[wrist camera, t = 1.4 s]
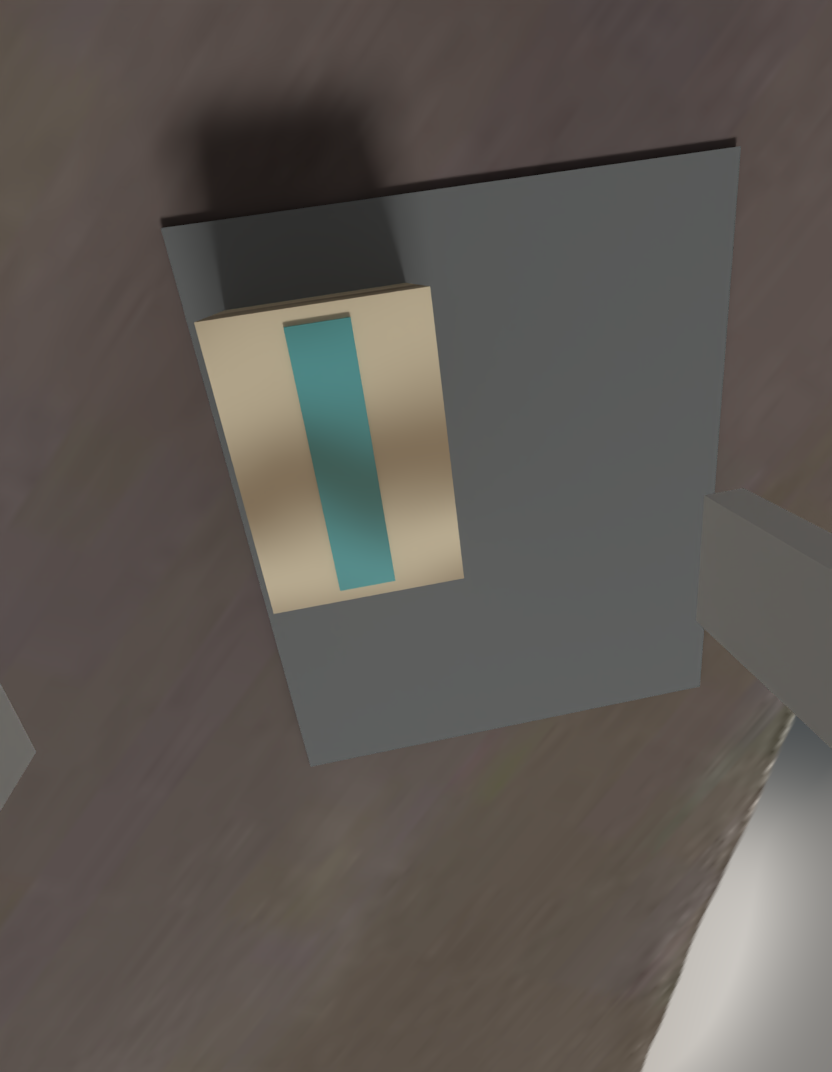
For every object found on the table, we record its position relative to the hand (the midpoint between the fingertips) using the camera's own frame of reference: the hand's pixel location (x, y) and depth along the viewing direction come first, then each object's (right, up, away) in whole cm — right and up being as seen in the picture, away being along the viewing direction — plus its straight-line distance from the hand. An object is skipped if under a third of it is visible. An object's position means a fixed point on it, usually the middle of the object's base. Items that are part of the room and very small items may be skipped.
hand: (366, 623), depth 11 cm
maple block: (-2, +6, +14) cm, 16 cm away
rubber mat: (+4, +3, +17) cm, 18 cm away
